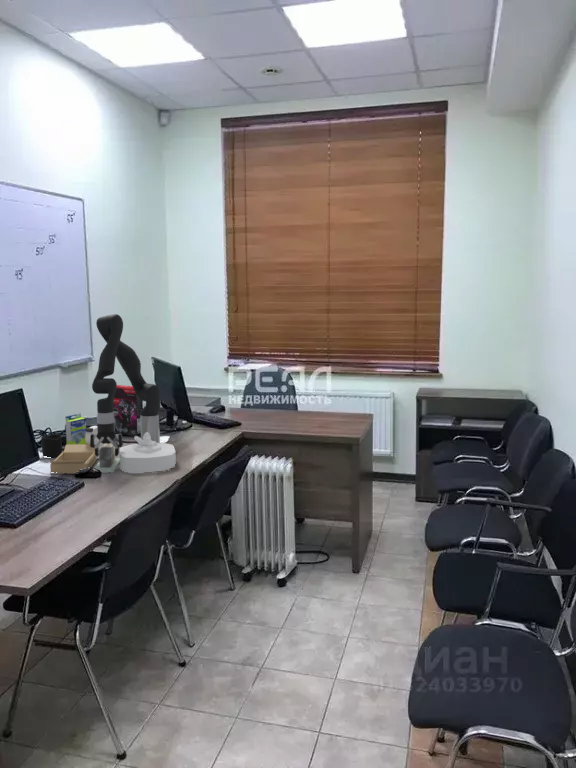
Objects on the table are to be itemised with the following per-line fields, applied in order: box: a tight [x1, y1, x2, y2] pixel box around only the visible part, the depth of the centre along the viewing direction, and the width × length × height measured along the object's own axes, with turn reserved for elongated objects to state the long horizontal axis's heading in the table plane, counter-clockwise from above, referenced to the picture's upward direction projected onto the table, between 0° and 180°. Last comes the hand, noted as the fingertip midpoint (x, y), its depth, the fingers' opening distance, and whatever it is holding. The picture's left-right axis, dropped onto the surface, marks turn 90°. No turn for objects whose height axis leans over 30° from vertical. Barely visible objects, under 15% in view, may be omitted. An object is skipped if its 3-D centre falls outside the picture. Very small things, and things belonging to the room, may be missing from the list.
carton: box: [48, 444, 97, 474], centre depth 288 cm, size 16×28×7 cm, turn 5°
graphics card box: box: [113, 384, 144, 437], centre depth 350 cm, size 17×7×27 cm, turn 68°
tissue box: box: [119, 432, 177, 474], centre depth 293 cm, size 25×25×16 cm
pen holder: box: [40, 433, 63, 459], centre depth 306 cm, size 9×9×10 cm
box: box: [64, 412, 87, 445], centre depth 320 cm, size 10×4×17 cm, turn 151°
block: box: [99, 443, 116, 467], centre depth 290 cm, size 4×13×8 cm, turn 5°
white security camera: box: [85, 425, 104, 460], centre depth 307 cm, size 12×11×15 cm
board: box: [94, 457, 120, 474], centre depth 290 cm, size 9×18×2 cm, turn 5°
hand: (106, 456), depth 289 cm, fingers open, 8 cm apart
